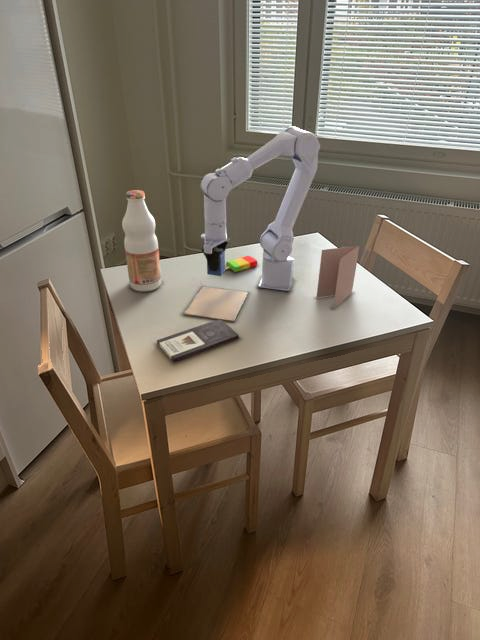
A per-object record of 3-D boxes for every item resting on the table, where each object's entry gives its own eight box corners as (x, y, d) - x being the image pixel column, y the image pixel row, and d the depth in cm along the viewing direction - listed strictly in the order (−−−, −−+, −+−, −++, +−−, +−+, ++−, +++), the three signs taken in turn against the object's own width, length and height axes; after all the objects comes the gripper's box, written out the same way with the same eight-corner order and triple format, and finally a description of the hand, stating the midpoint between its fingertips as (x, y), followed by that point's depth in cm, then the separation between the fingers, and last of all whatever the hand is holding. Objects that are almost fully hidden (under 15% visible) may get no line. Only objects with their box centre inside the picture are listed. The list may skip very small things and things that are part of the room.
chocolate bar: (238, 335, 113) (173, 359, 105) (238, 338, 113) (173, 362, 105) (219, 318, 119) (156, 340, 111) (220, 321, 120) (157, 343, 111)
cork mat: (248, 293, 133) (248, 292, 133) (234, 321, 120) (234, 320, 120) (202, 287, 136) (202, 286, 136) (184, 314, 123) (184, 313, 123)
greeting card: (350, 291, 135) (358, 244, 127) (363, 303, 129) (371, 254, 121) (315, 296, 132) (320, 248, 124) (326, 309, 126) (332, 259, 118)
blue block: (224, 270, 130) (224, 250, 127) (220, 276, 127) (220, 256, 124) (211, 268, 131) (211, 249, 128) (207, 274, 128) (206, 254, 125)
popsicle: (258, 265, 149) (258, 260, 148) (219, 277, 142) (219, 271, 141) (249, 259, 153) (249, 254, 152) (210, 270, 145) (210, 265, 144)
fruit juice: (123, 288, 135) (109, 194, 120) (142, 275, 142) (131, 185, 127) (149, 295, 132) (139, 199, 117) (167, 281, 139) (159, 190, 124)
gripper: (209, 210, 128) (210, 255, 135) (191, 228, 116) (194, 276, 123) (233, 212, 126) (233, 257, 133) (218, 231, 114) (219, 279, 122)
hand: (216, 267), depth 128 cm, fingers closed on blue block, 4 cm apart
